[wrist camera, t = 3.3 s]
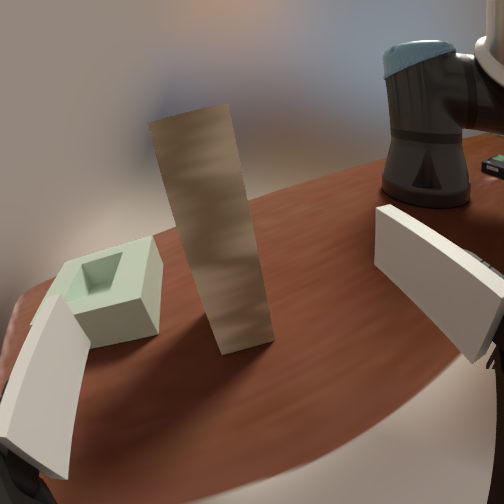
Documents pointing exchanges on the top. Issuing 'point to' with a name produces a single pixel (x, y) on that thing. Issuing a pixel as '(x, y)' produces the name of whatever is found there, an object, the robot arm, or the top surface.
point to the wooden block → (214, 223)
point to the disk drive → (494, 166)
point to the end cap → (113, 292)
